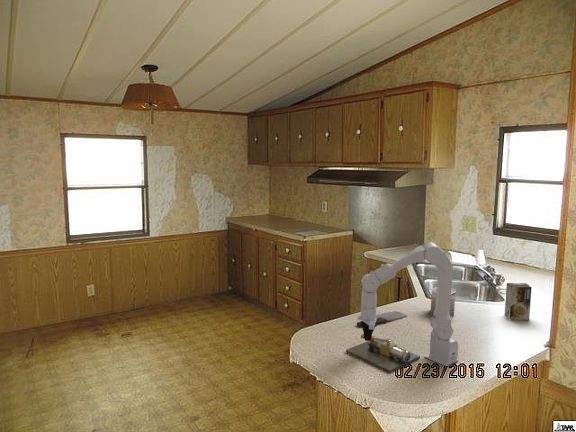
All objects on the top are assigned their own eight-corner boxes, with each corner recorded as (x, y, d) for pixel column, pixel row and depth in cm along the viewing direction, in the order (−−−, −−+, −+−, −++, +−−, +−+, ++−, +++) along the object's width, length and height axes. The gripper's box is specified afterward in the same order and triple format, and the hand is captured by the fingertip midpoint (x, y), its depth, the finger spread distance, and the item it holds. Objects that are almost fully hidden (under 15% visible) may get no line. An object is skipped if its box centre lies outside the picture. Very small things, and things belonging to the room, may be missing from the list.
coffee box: (523, 315, 209) (526, 283, 207) (529, 320, 203) (532, 287, 201) (503, 314, 210) (506, 282, 208) (509, 319, 204) (511, 286, 201)
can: (458, 317, 206) (459, 293, 204) (434, 317, 206) (435, 293, 204) (449, 309, 217) (451, 286, 215) (426, 309, 217) (428, 285, 215)
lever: (391, 341, 165) (392, 339, 165) (390, 343, 163) (390, 341, 163) (362, 336, 170) (362, 333, 169) (360, 338, 168) (360, 335, 168)
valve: (419, 358, 164) (420, 344, 163) (389, 373, 152) (390, 358, 152) (376, 340, 180) (376, 327, 179) (345, 352, 168) (346, 338, 168)
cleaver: (364, 330, 191) (364, 325, 190) (349, 323, 199) (349, 318, 198) (409, 317, 207) (409, 313, 207) (393, 311, 215) (394, 307, 215)
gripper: (355, 299, 171) (354, 332, 173) (361, 312, 157) (360, 348, 159) (372, 299, 171) (371, 332, 173) (381, 312, 157) (379, 348, 159)
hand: (367, 340), depth 166 cm, fingers closed, pressing on lever
